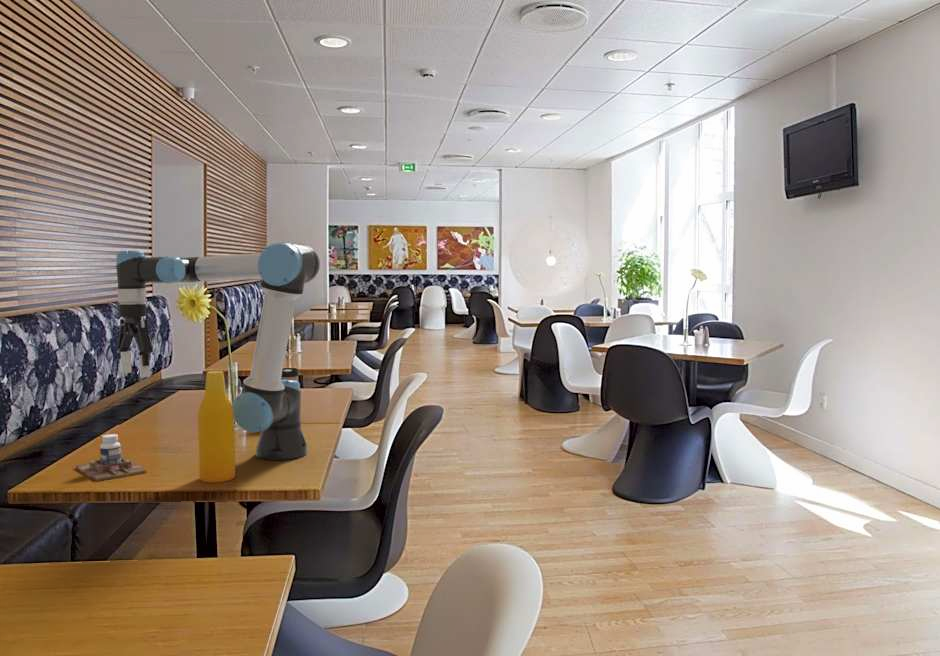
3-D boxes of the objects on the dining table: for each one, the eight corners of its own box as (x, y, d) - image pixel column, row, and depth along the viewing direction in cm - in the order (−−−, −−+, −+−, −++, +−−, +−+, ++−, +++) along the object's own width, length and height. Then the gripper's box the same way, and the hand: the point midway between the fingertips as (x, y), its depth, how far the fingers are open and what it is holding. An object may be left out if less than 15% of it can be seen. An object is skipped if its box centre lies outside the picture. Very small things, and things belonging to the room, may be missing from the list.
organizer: (146, 472, 211) (145, 463, 210) (96, 481, 202) (96, 471, 202) (123, 460, 224) (123, 451, 224) (75, 468, 215) (75, 459, 215)
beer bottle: (195, 483, 200) (192, 374, 198) (204, 474, 209) (201, 369, 207) (231, 482, 201) (228, 374, 198) (238, 473, 210) (236, 369, 208)
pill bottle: (97, 466, 213) (96, 435, 212) (117, 463, 216) (115, 432, 216) (105, 470, 209) (103, 438, 208) (124, 466, 213) (123, 435, 212)
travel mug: (288, 420, 283) (287, 367, 281) (303, 422, 279) (302, 368, 277) (273, 424, 276) (272, 369, 275) (288, 426, 272) (287, 371, 271)
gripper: (163, 303, 216) (166, 377, 218) (128, 301, 234) (131, 370, 236) (136, 304, 211) (139, 380, 213) (103, 302, 229) (106, 372, 230)
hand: (135, 375), depth 224 cm, fingers open, 13 cm apart
